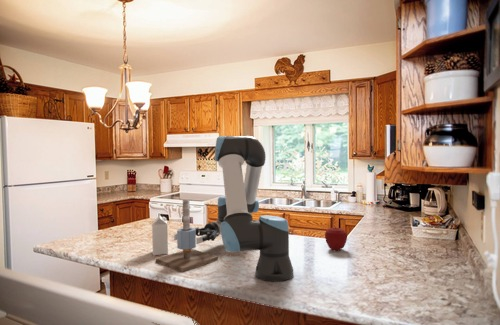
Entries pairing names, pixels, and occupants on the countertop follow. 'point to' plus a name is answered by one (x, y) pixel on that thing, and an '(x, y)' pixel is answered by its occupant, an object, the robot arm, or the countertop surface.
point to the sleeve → (186, 239)
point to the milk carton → (160, 236)
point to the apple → (336, 238)
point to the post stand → (189, 256)
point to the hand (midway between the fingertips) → (185, 239)
